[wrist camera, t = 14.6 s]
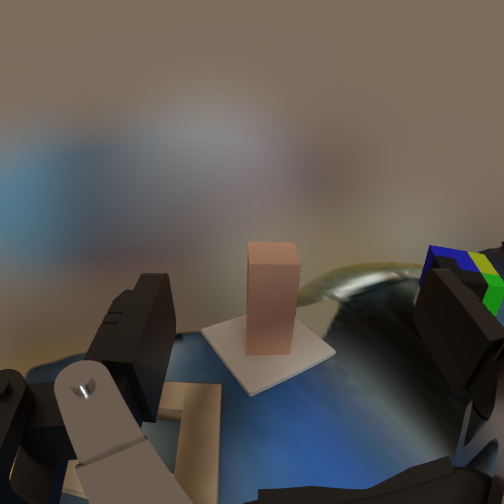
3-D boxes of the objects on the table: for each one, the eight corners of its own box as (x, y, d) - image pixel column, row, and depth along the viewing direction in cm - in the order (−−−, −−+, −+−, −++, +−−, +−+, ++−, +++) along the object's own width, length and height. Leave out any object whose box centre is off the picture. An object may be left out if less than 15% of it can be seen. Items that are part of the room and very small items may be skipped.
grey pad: (278, 305, 46) (278, 302, 46) (334, 354, 37) (335, 351, 37) (201, 332, 40) (200, 329, 40) (250, 397, 31) (250, 393, 31)
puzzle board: (222, 395, 31) (221, 383, 30) (217, 519, 19) (216, 513, 18) (97, 385, 31) (92, 373, 30) (61, 491, 18) (52, 483, 17)
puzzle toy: (413, 301, 47) (429, 245, 43) (464, 307, 45) (483, 254, 40) (422, 341, 38) (446, 278, 34) (480, 346, 36) (507, 287, 32)
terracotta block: (285, 327, 41) (293, 242, 35) (290, 354, 36) (301, 264, 31) (246, 328, 41) (248, 241, 35) (246, 355, 36) (248, 264, 31)
